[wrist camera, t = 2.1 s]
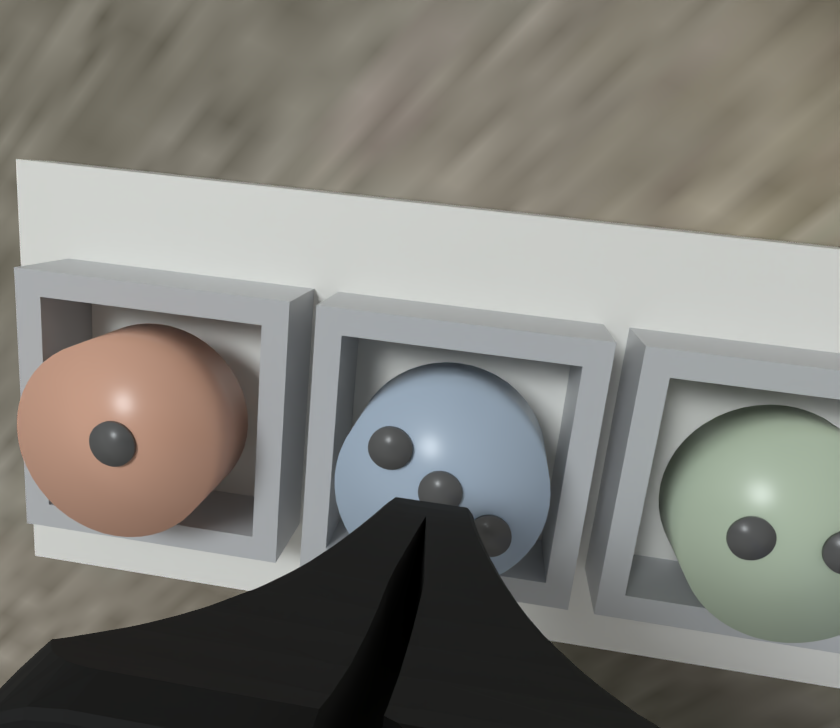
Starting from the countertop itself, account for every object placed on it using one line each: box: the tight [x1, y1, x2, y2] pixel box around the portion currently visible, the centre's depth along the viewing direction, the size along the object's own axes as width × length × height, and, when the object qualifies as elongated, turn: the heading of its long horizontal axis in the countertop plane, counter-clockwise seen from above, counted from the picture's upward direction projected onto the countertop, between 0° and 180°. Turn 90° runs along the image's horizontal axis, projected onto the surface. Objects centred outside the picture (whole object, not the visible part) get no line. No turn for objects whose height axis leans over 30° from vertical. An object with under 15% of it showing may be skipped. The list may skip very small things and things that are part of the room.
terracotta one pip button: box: [17, 323, 248, 537], centre depth 16 cm, size 4×4×2 cm
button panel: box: [14, 159, 840, 688], centre depth 17 cm, size 11×23×4 cm, turn 84°
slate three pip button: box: [335, 362, 551, 575], centre depth 15 cm, size 4×4×2 cm
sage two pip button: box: [659, 404, 840, 643], centre depth 14 cm, size 4×4×2 cm
